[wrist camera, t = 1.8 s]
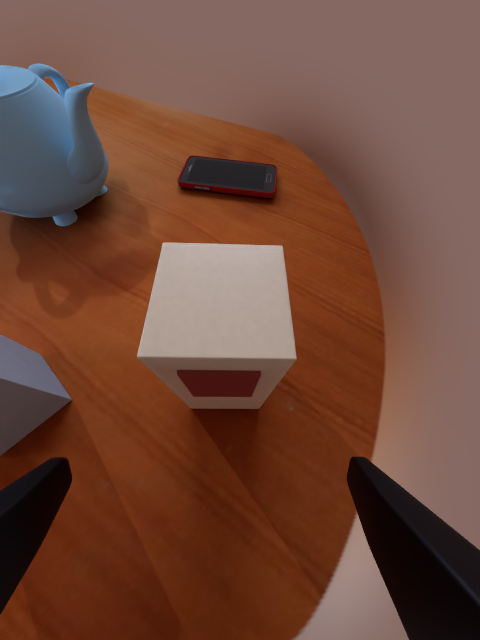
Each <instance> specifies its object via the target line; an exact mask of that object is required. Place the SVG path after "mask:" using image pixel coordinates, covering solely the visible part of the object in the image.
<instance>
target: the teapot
mask: <svg viewBox="0 0 480 640" xmlns="http://www.w3.org/2000/svg"><path fill="white" fill-rule="evenodd" d="M45 76H49V77H50V78H51V79H52V80H53V81H54V83H55V85H56V86H57V89H58V91H59V93H60V95H59V94H58V93H56V92H55V91H54V90H53V89H52V88H51V87H50V86H49V85H48V84H47V83H45V82H44V81H43V80H42V79H43V78H44V77H45ZM92 87H93V83H87V84H81V85H77V86H74V87H71V88H70V86H69V84H68V82H67V81H66V79H65V78H64V77H63V76H62V75H61V74H60V73H59V72H58V71H57V70H55V69H54V68H52V67H50V66H47V65H44V64H34V65H31V66H30V67H29V68H28V69H24V68H20V67H15V66H4V65H3V66H2V65H0V211H3V212H6V213H9V214H14V215H18V216H22V217H29V218H43V217H53V219H54V222H55V224H56V225H58V226H68V225H71V224H73V223H74V222H75V221H76V220H77V218H78V217H77V215H76V213H75V212H74V210H75V209H78V208H80V207H82V206H84V205H85V204H87V203H88V202H90V201H91V200H92V199H93V198H95V197H96V196H101V195H103V194H105V193H106V192H107V190H108V189H107V187H106V186H105V185H104V182H105V180H106V176H107V172H108V159H107V156H106V154H105V152H104V149H103V148H102V145H101V142H100V140H99V137H98V135H97V133H96V131H95V129H94V126H93V124H92V122H91V119H90V116H89V114H88V109H87V96H88V94H89V92H90V90H91V88H92Z"/></svg>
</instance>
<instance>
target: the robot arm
mask: <svg viewBox="0 0 480 640" xmlns="http://www.w3.org/2000/svg"><path fill="white" fill-rule="evenodd" d="M71 482H72V474H71V470H70V465H69V461H68V459H67V458H65V457H54V458H51V459H49V460H47V461H46V462H44V463H43V464H41V465H39V466H38V467H36V468H35V469H33V470H32V471H30V472H29V473H27V474H25V475H24V476H22V477H21V478H19V479H18V480H16V481H15V482H13V483H11V484H10V485H8V486H7V487H5V488H4V489H2V490H1V491H0V614H1V613H2V611H3V609H4V608H5V606H6V604H7V602H8V601H9V599H10V597H11V596H12V594H13V592H14V591H15V589H16V587H17V585H18V584H19V582H20V580H21V579H22V577H23V575H24V574H25V572H26V570H27V568H28V567H29V565H30V563H31V562H32V560H33V558H34V556H35V555H36V553H37V551H38V549H39V548H40V546H41V544H42V542H43V540H44V538H45V536H46V534H47V532H48V530H49V528H50V526H51V524H52V522H53V520H54V518H55V516H56V514H57V512H58V510H59V508H60V506H61V504H62V502H63V500H64V498H65V496H66V494H67V492H68V490H69V488H70V485H71ZM347 482H348V486H349V489H350V492H351V495H352V498H353V501H354V504H355V507H356V510H357V513H358V516H359V519H360V521H361V524H362V528H363V530H364V533H365V536H366V539H367V542H368V544H369V547H370V549H371V552H372V554H373V557H374V559H375V561H376V563H377V566H378V568H379V570H380V573H381V575H382V577H383V580H384V582H385V584H386V587H387V589H388V591H389V594H390V596H391V598H392V601H393V603H394V605H395V608H396V610H397V612H398V615H399V617H400V619H401V621H402V624H403V626H404V629H405V631H406V633H407V636H408V638H409V640H480V550H479V549H477V548H476V547H475V546H474V545H473V544H471V543H470V542H469V541H468V540H466V539H465V538H464V537H463V536H461V535H460V534H459V533H458V532H457V531H455V530H454V529H453V528H452V527H450V526H449V525H448V524H446V523H445V522H444V521H443V520H442V519H441V518H439V517H438V516H437V515H436V514H434V513H433V512H432V511H431V510H429V509H428V508H427V507H426V506H424V505H423V504H422V503H421V502H419V501H418V500H417V499H416V498H415V497H413V496H412V495H411V494H410V493H408V492H407V491H406V490H405V489H404V488H402V487H401V486H400V485H399V484H397V483H396V482H395V481H394V480H392V479H391V478H390V477H389V476H387V475H386V474H385V473H384V472H382V471H381V470H380V469H379V468H378V467H376V466H375V465H374V464H373V463H371V462H370V461H369V460H368V459H366V458H365V457H352V458H351V459H350V463H349V468H348V473H347Z"/></svg>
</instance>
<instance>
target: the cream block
mask: <svg viewBox="0 0 480 640" xmlns="http://www.w3.org/2000/svg"><path fill="white" fill-rule="evenodd" d="M137 358H138V359H139V360H140V361H141V362H143V363H144V364H145V365H146V366H147V367H148V368H149V369H150V370H151V371H152V372H153V373H154V374H155V375H156V376H157V377H158V378H159V379H160V380H161V381H162V382H163V383H164V384H166V385H167V386H168V387H169V388H170V389H171V390H172V391H173V392H174V393H175V394H176V395H177V396H178V397H179V398H180V399H181V400H182V401H183V402H184V403H185V404H186V405H187V406H188V407H190V408H191V409H259V408H260V407H261V406H262V404H263V403H264V402H265V400H266V399H267V398H268V396H269V395H270V394H271V392H272V391H273V390H274V388H275V387H276V386H277V384H278V383H279V382H280V381H281V379H282V378H283V377H284V375H285V374H286V373H287V371H288V370H289V369H290V367H291V366H292V365H293V363H294V362H295V361H296V359H297V357H296V349H295V341H294V333H293V325H292V317H291V309H290V301H289V293H288V285H287V277H286V269H285V261H284V253H283V246H272V245H236V244H200V243H163V245H162V249H161V254H160V258H159V262H158V267H157V271H156V276H155V280H154V284H153V289H152V293H151V298H150V302H149V307H148V311H147V315H146V320H145V324H144V329H143V333H142V337H141V342H140V346H139V351H138V355H137Z"/></svg>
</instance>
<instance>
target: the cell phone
mask: <svg viewBox="0 0 480 640" xmlns="http://www.w3.org/2000/svg"><path fill="white" fill-rule="evenodd" d="M276 180H277V166H275V165H271V164H263V163H254V162H246V161H237V160H228V159H219V158H210V157H201V156H190V157H188V159H187V160H186V162H185V165H184V167H183V169H182V171H181V173H180V175H179V177H178V185H179V186H180V187H182V188H189V189H200V190H209V191H214V192H222V193H230V194H239V195H247V196H256V197H265V198H272V197H273V196H274V194H275V190H276Z"/></svg>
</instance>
